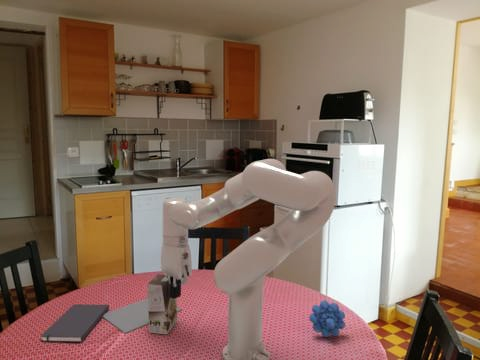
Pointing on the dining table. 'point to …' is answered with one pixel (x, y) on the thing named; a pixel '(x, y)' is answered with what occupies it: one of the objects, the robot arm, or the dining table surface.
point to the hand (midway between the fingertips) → (175, 296)
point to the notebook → (75, 323)
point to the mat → (130, 316)
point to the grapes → (327, 319)
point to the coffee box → (161, 306)
